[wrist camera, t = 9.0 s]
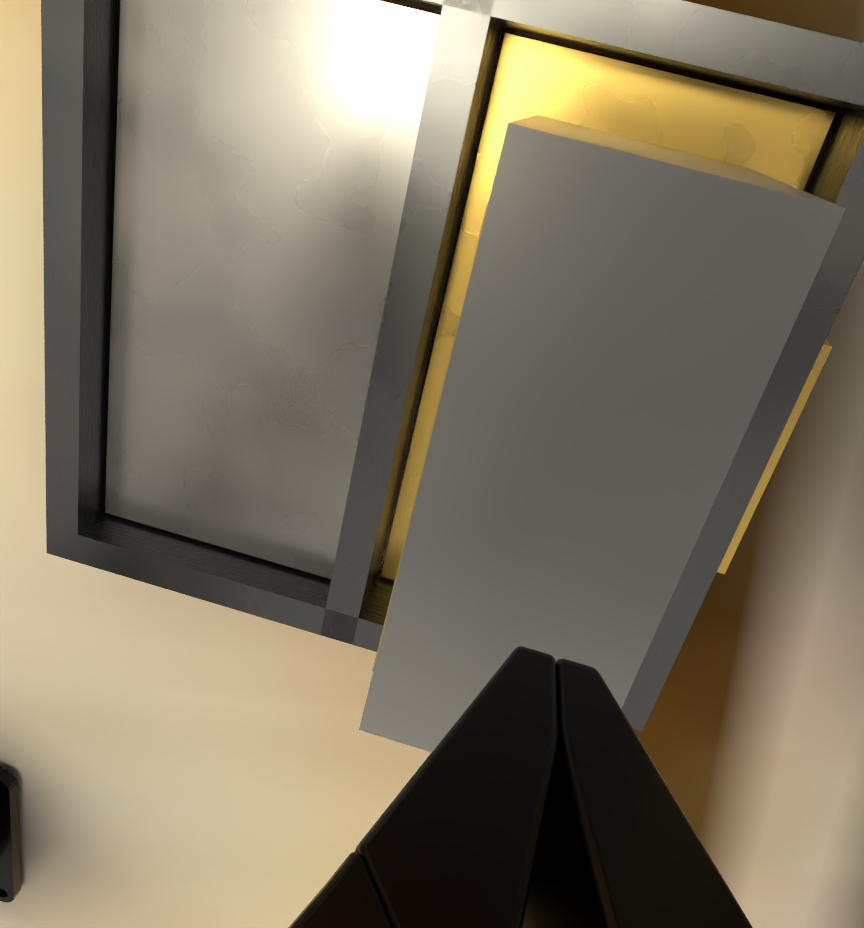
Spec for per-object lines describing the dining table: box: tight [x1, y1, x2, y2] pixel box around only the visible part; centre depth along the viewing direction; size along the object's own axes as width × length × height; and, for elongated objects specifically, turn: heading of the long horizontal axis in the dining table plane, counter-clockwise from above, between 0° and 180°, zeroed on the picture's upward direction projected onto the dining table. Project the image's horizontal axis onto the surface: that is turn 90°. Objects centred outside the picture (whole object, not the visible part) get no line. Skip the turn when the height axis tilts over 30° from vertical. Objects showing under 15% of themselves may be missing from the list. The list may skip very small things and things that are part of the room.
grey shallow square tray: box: [41, 0, 864, 731], centre depth 16 cm, size 14×15×2 cm
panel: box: [359, 115, 846, 752], centre depth 14 cm, size 10×4×6 cm, turn 167°
